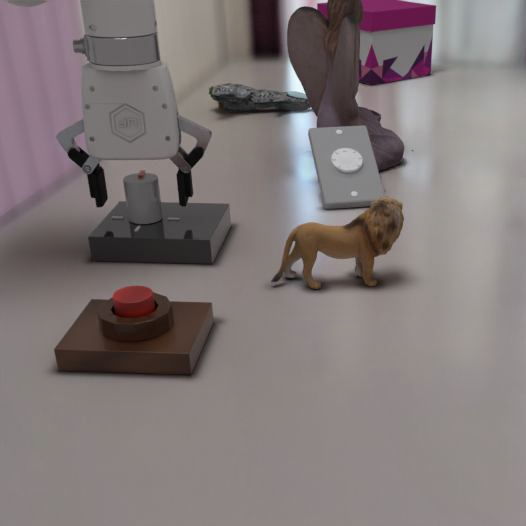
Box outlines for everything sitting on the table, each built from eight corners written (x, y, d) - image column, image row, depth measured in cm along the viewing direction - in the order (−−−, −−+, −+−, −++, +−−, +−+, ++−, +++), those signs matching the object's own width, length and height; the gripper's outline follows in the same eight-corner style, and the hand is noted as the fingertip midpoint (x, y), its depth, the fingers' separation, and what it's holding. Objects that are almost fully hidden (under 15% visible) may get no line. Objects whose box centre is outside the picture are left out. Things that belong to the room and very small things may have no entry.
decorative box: (378, 63, 198) (380, -3, 191) (432, 75, 186) (436, 5, 178) (318, 72, 188) (317, 3, 180) (370, 85, 175) (372, 12, 168)
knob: (160, 224, 94) (154, 180, 91) (125, 224, 94) (119, 180, 91) (164, 212, 97) (159, 169, 95) (131, 212, 97) (125, 170, 94)
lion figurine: (394, 264, 92) (396, 188, 87) (408, 283, 87) (412, 204, 83) (267, 277, 88) (263, 199, 84) (275, 297, 84) (272, 216, 80)
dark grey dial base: (91, 261, 92) (87, 235, 90) (122, 223, 102) (119, 199, 101) (212, 264, 91) (209, 238, 90) (231, 226, 102) (229, 202, 100)
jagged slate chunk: (314, 115, 147) (315, 84, 146) (204, 108, 145) (205, 77, 144) (311, 118, 163) (312, 91, 162) (212, 112, 161) (212, 85, 160)
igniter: (58, 370, 71) (49, 331, 69) (94, 318, 80) (88, 282, 78) (191, 374, 71) (187, 335, 69) (213, 322, 79) (210, 285, 77)
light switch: (325, 199, 106) (308, 122, 113) (322, 228, 111) (306, 153, 118) (387, 195, 107) (367, 119, 115) (381, 224, 112) (362, 150, 120)
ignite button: (109, 319, 72) (107, 302, 71) (121, 301, 75) (119, 284, 74) (149, 320, 72) (146, 303, 71) (159, 302, 75) (157, 285, 74)
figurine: (419, 169, 123) (428, -8, 110) (331, 181, 118) (329, -3, 105) (369, 140, 137) (372, -20, 124) (288, 150, 132) (283, -16, 119)
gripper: (32, 57, 82) (61, 215, 91) (201, 57, 83) (214, 213, 92) (51, 45, 89) (77, 193, 97) (208, 44, 90) (219, 192, 98)
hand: (143, 203), depth 95 cm, fingers open, 9 cm apart
